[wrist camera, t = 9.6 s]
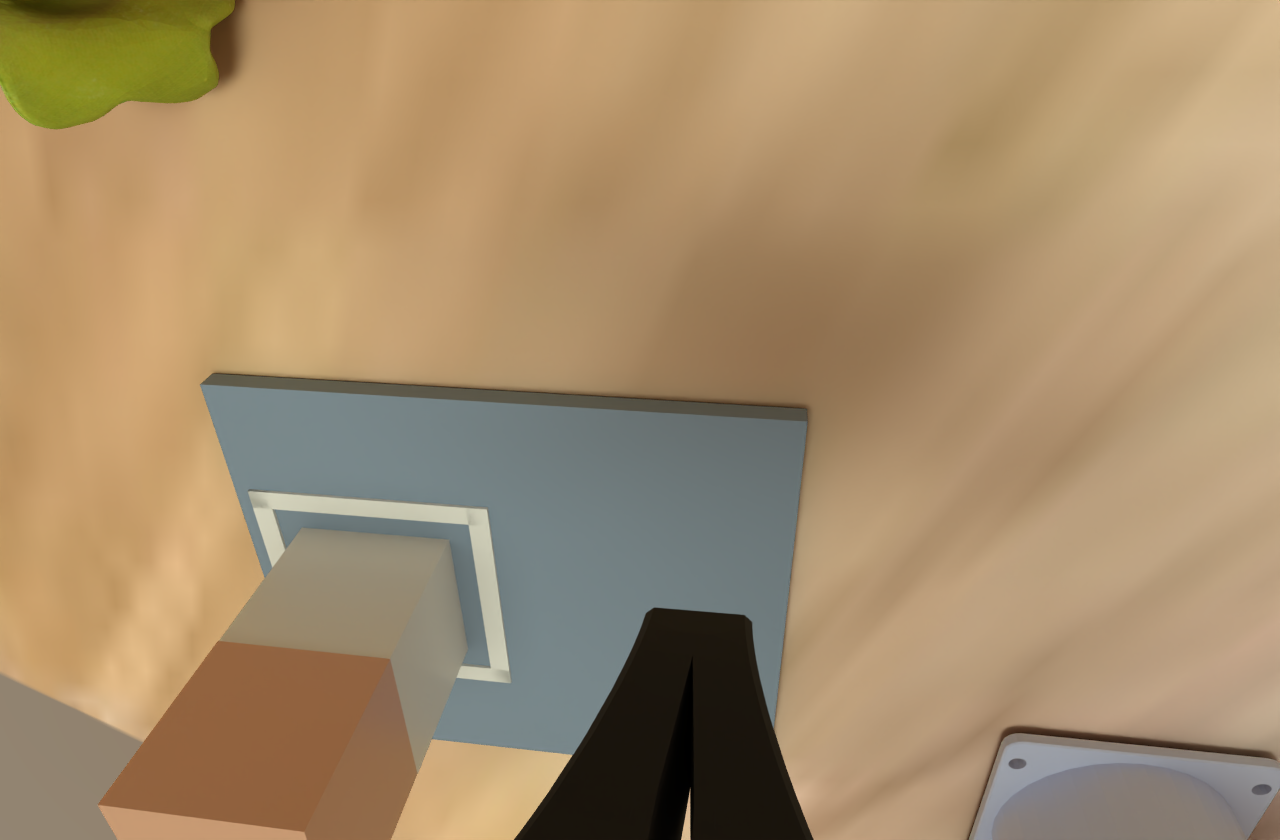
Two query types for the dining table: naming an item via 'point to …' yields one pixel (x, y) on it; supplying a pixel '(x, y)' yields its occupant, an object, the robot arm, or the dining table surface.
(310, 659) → the top block
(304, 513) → the board
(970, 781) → the dining table surface
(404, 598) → the base block
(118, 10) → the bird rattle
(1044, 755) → the robot arm
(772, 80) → the dining table surface
